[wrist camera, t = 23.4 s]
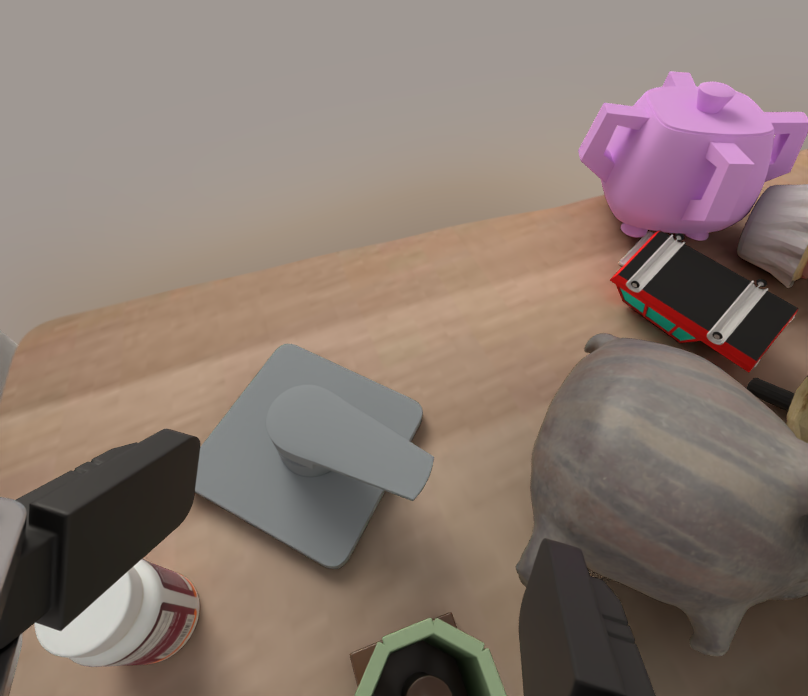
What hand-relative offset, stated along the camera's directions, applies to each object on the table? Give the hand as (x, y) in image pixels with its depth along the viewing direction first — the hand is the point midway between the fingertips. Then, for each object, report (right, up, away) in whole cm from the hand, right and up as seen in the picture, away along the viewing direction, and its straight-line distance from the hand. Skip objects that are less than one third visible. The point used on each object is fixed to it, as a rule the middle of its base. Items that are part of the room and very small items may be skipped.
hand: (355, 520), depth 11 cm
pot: (+26, +17, +37) cm, 48 cm away
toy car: (+24, +9, +26) cm, 37 cm away
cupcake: (+32, +15, +33) cm, 48 cm away
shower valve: (-4, -4, +23) cm, 24 cm away
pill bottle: (-13, -12, +18) cm, 25 cm away
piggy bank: (+16, -7, +21) cm, 28 cm away
